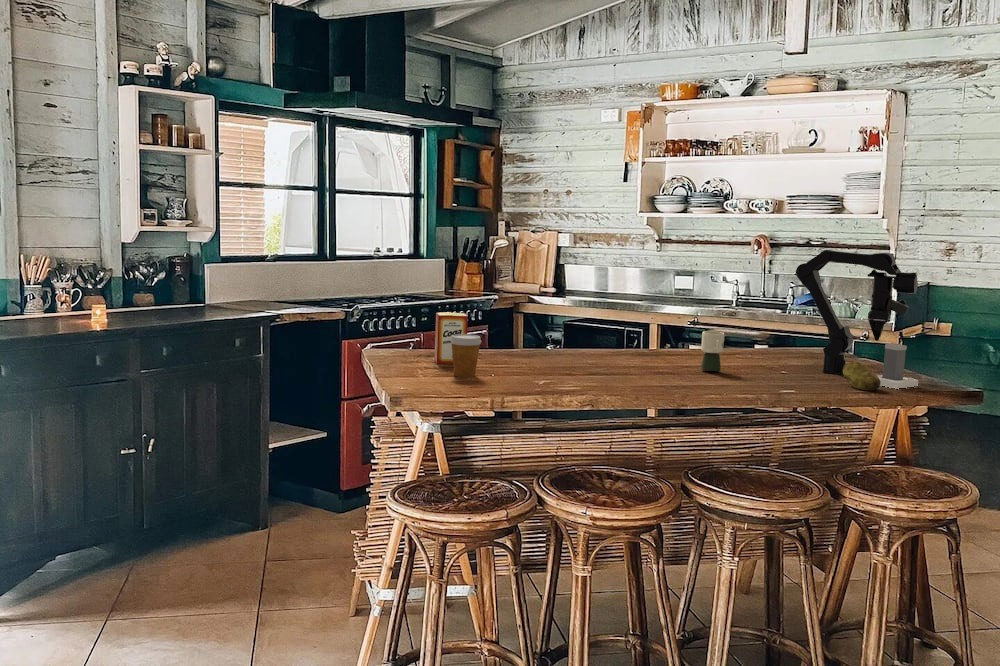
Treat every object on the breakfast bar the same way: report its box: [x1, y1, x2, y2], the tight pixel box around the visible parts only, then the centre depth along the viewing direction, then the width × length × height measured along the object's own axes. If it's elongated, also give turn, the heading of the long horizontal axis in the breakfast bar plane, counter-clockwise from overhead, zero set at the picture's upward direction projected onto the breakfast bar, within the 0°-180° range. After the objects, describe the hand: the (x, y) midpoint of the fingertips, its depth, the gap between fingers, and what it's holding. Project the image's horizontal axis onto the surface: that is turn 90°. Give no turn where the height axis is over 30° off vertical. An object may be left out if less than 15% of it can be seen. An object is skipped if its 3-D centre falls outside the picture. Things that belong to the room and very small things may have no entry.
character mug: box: [700, 330, 725, 373], centre depth 322 cm, size 11×7×13 cm, turn 7°
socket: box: [876, 374, 919, 390], centre depth 312 cm, size 11×11×3 cm
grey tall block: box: [881, 343, 908, 381], centre depth 311 cm, size 5×5×12 cm
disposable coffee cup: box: [450, 333, 482, 378], centre depth 297 cm, size 10×10×12 cm
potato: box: [842, 360, 881, 392], centre depth 305 cm, size 8×13×8 cm, turn 6°
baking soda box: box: [434, 311, 469, 365], centre depth 318 cm, size 10×6×16 cm
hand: (877, 338), depth 322 cm, fingers open, 9 cm apart
